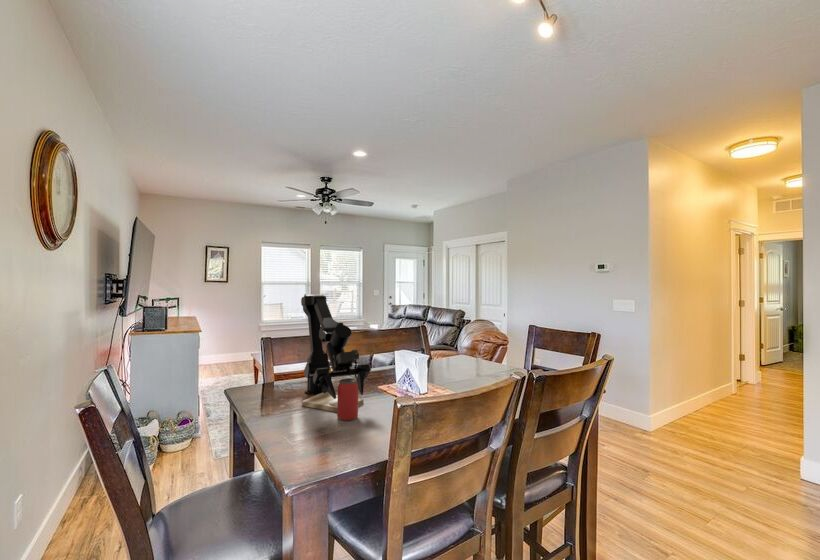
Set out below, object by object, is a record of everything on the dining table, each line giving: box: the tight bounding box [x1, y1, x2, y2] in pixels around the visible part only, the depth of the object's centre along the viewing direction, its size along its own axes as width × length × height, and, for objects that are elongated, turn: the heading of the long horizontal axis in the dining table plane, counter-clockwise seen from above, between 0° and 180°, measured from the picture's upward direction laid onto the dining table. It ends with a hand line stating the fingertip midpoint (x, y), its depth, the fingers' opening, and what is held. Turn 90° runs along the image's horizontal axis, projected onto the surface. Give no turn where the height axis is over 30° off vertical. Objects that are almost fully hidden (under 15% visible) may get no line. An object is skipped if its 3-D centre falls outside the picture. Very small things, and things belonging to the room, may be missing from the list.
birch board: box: [301, 392, 364, 413], centre depth 139 cm, size 18×12×2 cm, turn 66°
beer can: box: [336, 377, 359, 422], centre depth 126 cm, size 7×7×12 cm
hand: (349, 396), depth 126 cm, fingers open, 9 cm apart
